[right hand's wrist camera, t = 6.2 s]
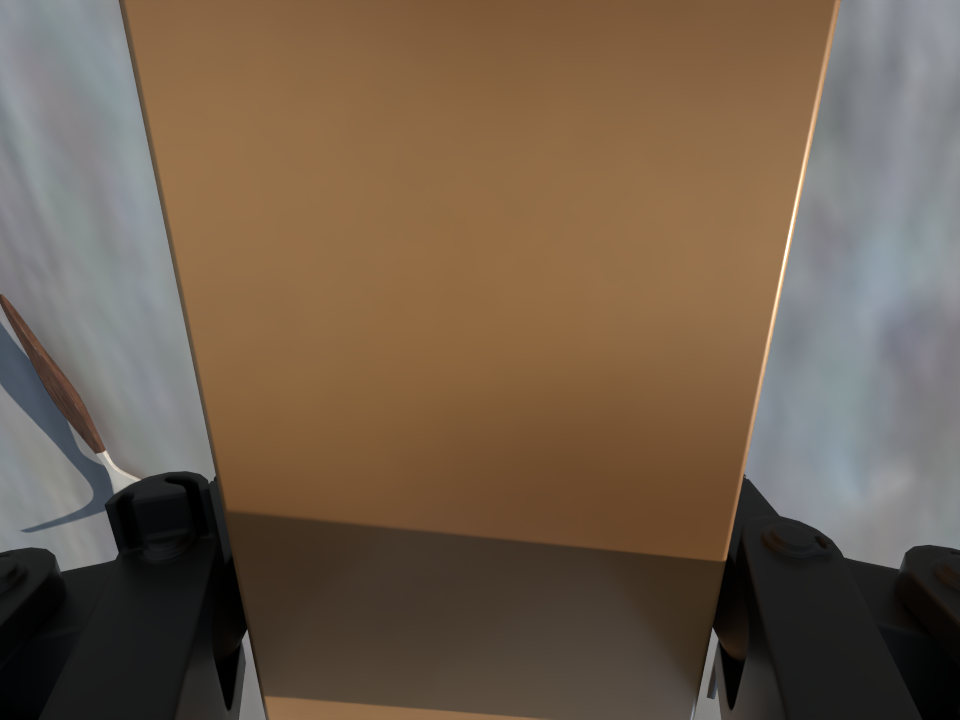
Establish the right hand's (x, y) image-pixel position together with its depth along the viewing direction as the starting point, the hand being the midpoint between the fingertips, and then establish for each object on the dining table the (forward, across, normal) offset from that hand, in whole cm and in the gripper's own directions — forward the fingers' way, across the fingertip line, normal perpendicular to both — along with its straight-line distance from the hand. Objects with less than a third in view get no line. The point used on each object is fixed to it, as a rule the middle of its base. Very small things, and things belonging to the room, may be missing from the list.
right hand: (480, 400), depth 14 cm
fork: (+13, +21, +8) cm, 26 cm away
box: (0, 0, -7) cm, 7 cm away
